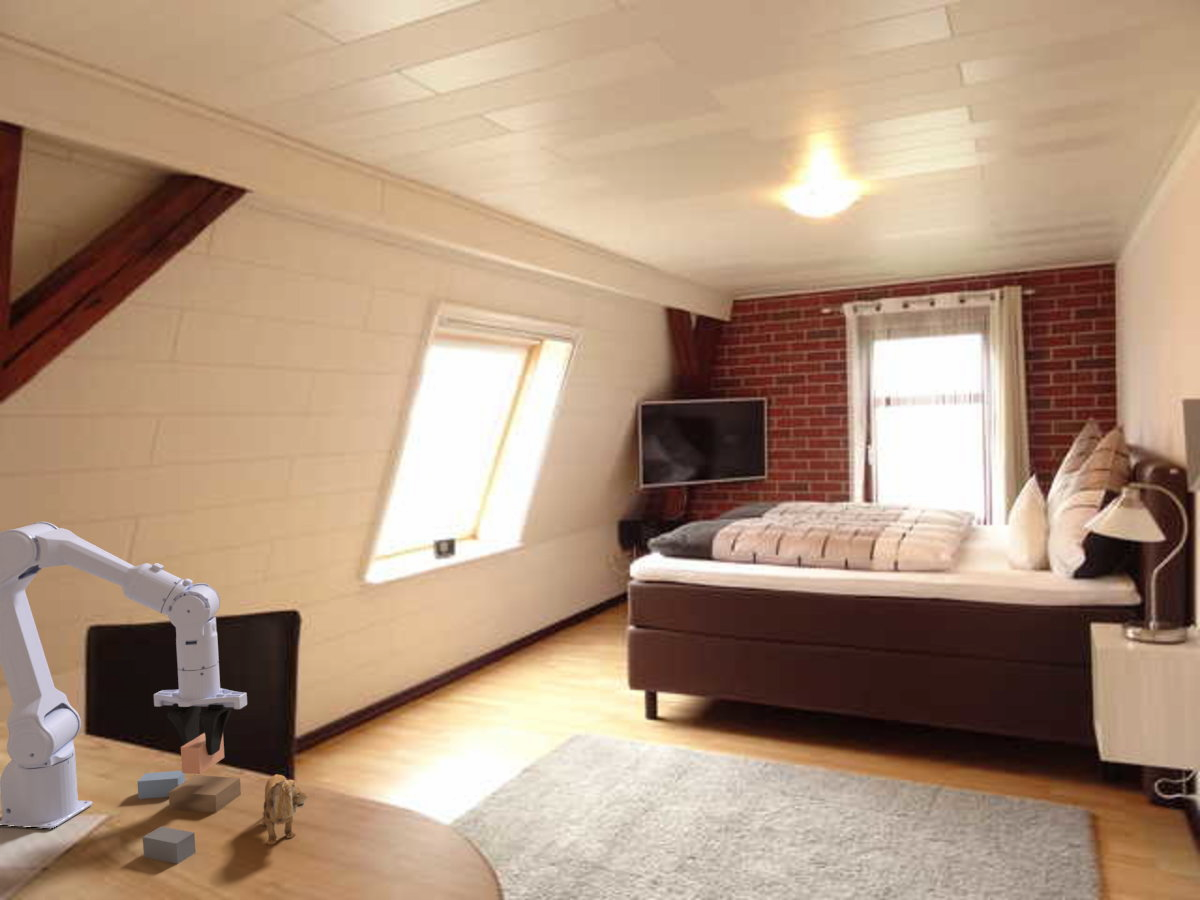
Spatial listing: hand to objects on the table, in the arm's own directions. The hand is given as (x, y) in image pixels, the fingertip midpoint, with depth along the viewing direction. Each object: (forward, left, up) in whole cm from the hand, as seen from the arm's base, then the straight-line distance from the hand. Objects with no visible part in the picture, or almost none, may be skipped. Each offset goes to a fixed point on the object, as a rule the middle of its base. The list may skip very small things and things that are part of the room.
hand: (203, 752), depth 130 cm
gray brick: (+5, -15, -8) cm, 18 cm away
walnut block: (0, 0, -8) cm, 8 cm away
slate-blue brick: (-9, +2, -8) cm, 12 cm away
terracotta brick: (0, 0, -2) cm, 2 cm away
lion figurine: (+17, -7, -8) cm, 20 cm away
